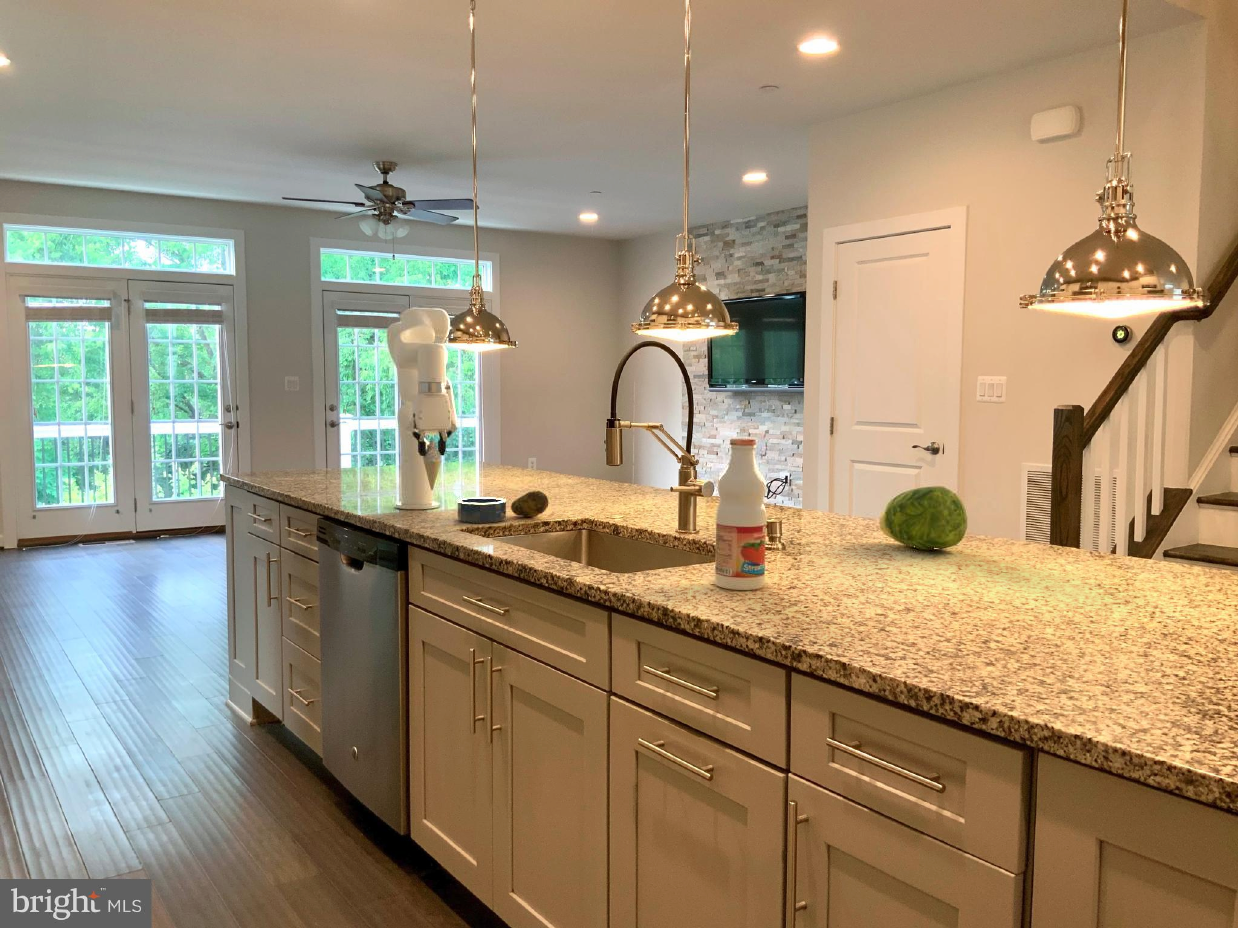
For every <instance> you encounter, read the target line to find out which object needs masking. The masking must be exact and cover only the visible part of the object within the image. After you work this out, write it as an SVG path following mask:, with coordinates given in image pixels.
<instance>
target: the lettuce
mask: <svg viewBox="0 0 1238 928" xmlns="http://www.w3.org/2000/svg"><path fill="white" fill-rule="evenodd" d="M878 527H879V529H880V531H881V532H882V533H883V535H885V536H886V537H888V538H891V539H893V540H894V541H896V542H897V543H900V544H902V543H903V544H902V545H903V546H907V547H910V548H913V549H918V550H922V551H925V552H927V551H937V550H943V549H947V548H952V547H955V546H957V545H958V544H959V543H960V542H961V541H962V540H963V539H964V537H965V535H966V533H967V529H968V515H967V510H966V507H965V506H964V503H963V501H962V499H961V498H960V497H959V496H958V494H956V493H955V492H954V491H952V490H951V489H948V488H947V487H945V486H941V485H940V486H938V485H935V486H933V485H932V486H922V487H917V488H914V489H909V490H907V491H903V492H902V493H899V494H898V495H896V496H894V497H893V498H892V499H891V500H889V501H888V502H887V505H886V506H885V508H884V509H883V510H882V512H881V514H880V516H879V518H878ZM905 544H906V545H905ZM910 545H911V546H910ZM914 546H915V547H914ZM934 548H939V549H934Z"/></svg>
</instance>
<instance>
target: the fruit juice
mask: <svg viewBox="0 0 1238 928" xmlns="http://www.w3.org/2000/svg"><path fill="white" fill-rule="evenodd" d="M729 448H730V450H731V451H730V452H731V453H730V457H729V461H728V463H727V465H726V468H725V470H724V471H723V472H722V473H721V475H720V476H719V478H718V481H717V492H718V496H719V503H718V505H717V508H716V514H715V515H716V516H715V556H714V557H715V561H714V562H715V563H714V581H715V585H716V586H717V587H719V588H722V589H726V590H734V591H754V590H758V589H762V588H763V587H764V585H765V581H766V580H765V579H766V575H765V574H766V542H767V541H766V538H767V537H766V536H767V510H766V507H765V503H764V499H765V495H766V493H767V481H766V478H765V476H764V475H763V474H762V472H761V471H760V469H759V467H758V464H757V460H756V457H755V449H756V448H757V440H756V439H754V438H730V440H729Z"/></svg>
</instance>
